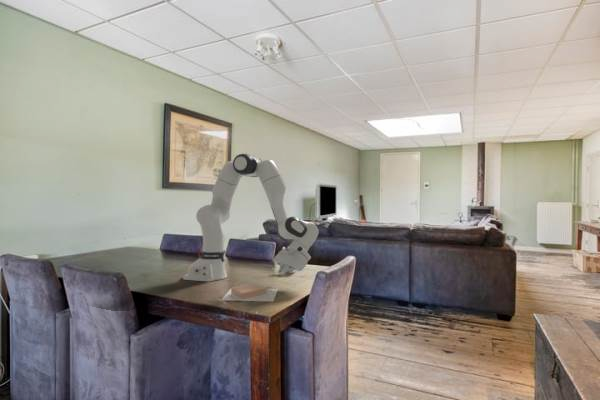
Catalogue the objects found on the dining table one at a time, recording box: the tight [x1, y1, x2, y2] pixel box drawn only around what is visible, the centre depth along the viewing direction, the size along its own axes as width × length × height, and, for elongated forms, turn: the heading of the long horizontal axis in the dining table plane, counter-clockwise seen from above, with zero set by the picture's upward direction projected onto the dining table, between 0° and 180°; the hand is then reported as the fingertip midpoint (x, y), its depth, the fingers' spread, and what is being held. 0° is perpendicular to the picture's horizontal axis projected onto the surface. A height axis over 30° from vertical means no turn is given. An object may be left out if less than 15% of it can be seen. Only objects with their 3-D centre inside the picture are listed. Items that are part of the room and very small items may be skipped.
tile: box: [230, 283, 268, 300], centre depth 145 cm, size 3×10×12 cm
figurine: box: [281, 246, 296, 274], centre depth 190 cm, size 7×9×15 cm
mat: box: [220, 288, 279, 302], centre depth 146 cm, size 22×18×1 cm
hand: (280, 273), depth 155 cm, fingers closed
